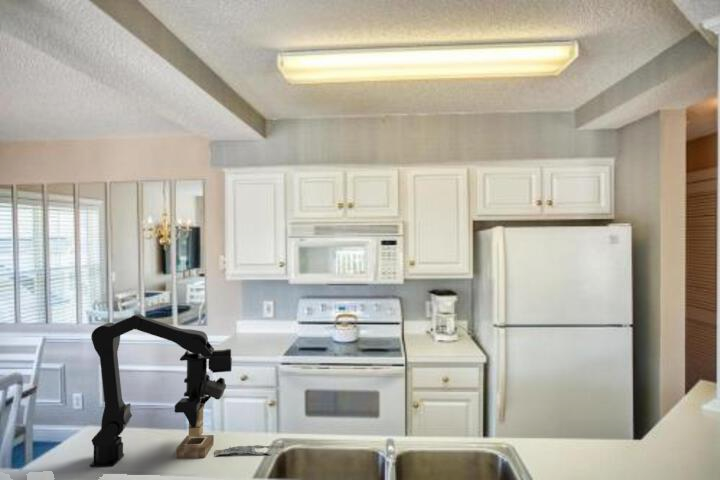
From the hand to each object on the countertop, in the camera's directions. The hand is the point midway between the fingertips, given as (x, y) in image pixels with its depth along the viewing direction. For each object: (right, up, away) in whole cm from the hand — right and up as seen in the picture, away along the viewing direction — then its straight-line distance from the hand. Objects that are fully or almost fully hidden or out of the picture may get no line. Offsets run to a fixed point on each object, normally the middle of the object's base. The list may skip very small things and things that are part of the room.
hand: (195, 425), depth 126 cm
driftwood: (+17, -9, 0) cm, 19 cm away
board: (0, -8, 0) cm, 8 cm away
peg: (0, -3, 0) cm, 3 cm away
